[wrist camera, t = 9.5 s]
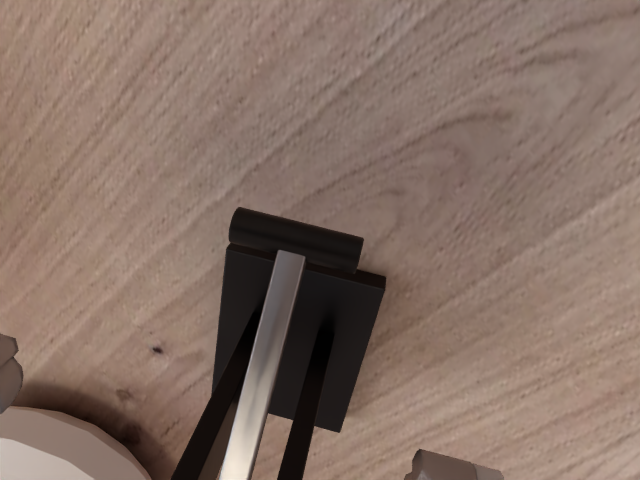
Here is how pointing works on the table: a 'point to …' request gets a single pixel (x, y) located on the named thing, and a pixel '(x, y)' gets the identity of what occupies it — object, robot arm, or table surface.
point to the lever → (276, 316)
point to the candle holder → (61, 449)
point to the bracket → (285, 357)
